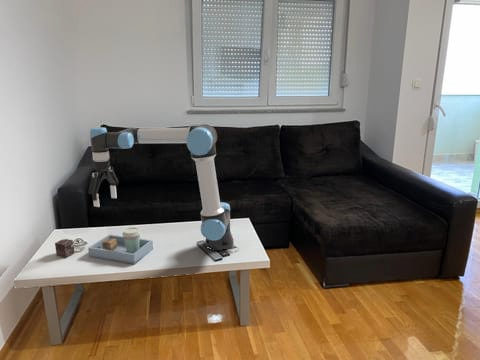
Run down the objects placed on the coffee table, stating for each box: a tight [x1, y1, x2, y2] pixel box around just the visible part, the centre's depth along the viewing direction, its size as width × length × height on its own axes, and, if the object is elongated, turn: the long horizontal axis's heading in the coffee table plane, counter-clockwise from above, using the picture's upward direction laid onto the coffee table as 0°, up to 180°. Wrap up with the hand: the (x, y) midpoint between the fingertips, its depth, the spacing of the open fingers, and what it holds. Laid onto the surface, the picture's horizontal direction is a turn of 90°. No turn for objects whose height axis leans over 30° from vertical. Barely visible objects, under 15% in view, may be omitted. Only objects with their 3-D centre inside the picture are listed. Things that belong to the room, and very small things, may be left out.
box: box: [54, 238, 75, 259], centre depth 190 cm, size 6×6×7 cm
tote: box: [87, 234, 154, 265], centre depth 192 cm, size 26×17×5 cm, turn 73°
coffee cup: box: [122, 226, 141, 254], centre depth 189 cm, size 9×9×12 cm
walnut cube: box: [102, 238, 117, 251], centre depth 193 cm, size 5×5×5 cm
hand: (105, 202), depth 187 cm, fingers open, 13 cm apart
